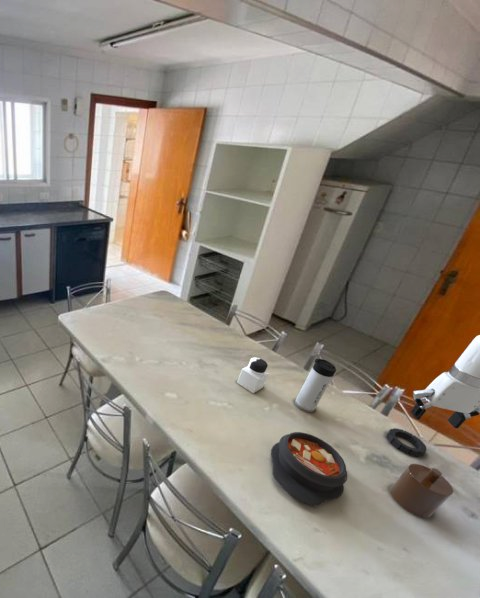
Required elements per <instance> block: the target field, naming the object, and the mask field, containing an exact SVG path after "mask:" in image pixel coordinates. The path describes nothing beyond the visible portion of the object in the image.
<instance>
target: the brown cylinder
mask: <svg viewBox="0 0 480 598" xmlns="http://www.w3.org/2000/svg"><path fill="white" fill-rule="evenodd" d="M442 473H443V472H441V471H440V470H439V469H437V468H434V467H432V468H430V467H428V466H425V465H424V464H418V463H411V464H409V465H408V466H407V468H405V469H404V471H403V472H402V473H401V475H400V476H399V477H398V478H397V480H396V481H395V482H394V483H393V484H392V485H391V487H390V488H389V493H390V495H391V497H392V498H393V499H394V501H395V502H396V503H397V504H398V505H399V506H400V507H401V508H402V509H403V510H405V511H407V512H409V513H411V514H412V515H415V516H417V517H420V518H425V519H427V518H431V516H432V515H433V514H435V512H437V510H438V509H439V508H440V507H441V506H442V505H443V504H444V503H445V502H446V501H447V500H448V499H449V498H450V497H451V496H453V494H454V488H453V487H452V485H451V484H450V482H449V481H448V480H447V479H446V478H445V477H443V476H442V475H443V474H442Z"/></svg>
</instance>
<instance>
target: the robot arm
mask: <svg viewBox="0 0 480 598" xmlns="http://www.w3.org/2000/svg"><path fill="white" fill-rule="evenodd" d="M412 399H413V400H414V403H415V404H414V405H413V407H412V409H410V414H411V415H412V416H413V418H414V419H415V420H420V419H422V418H423V416H424V414H425V413H426V412H427V409H429V408H432V407H435V408H439V409H442V410H443V409H444V410H448V411H453V413H452V414H451V415H450V417H449V418H448V419H447V421H448V423H449V424H450V425H451V426H452V427H453V428H454V429H459V428H460V427H461V426H462V425H463V423H465V421H466V420H471V418H472V417H476V416H479V415H480V334H479V335H476V336H475V337H474V338H473V339H472V341H471V342H470V343H469V344H468V346H467V347H466V348H465V350H464V351H463V352H462V353H461V355H460V356H459V357H458V359H457V360H456V361H455V363H454V364H453V365H452V366H451V368H450V369H449V370H448V371H444V372H442V373H441V374H439V375H438V376H437V377H436V378H435V379H433V380H432V382H430V383H429V385H428V386H427V387H426V388H425V389H420V390H419V389H418V390H413V392H412Z"/></svg>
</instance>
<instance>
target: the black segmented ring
mask: <svg viewBox="0 0 480 598" xmlns="http://www.w3.org/2000/svg"><path fill="white" fill-rule="evenodd" d="M385 436H386V440H387V441H388V442H389V444H390V445H392V447H394V448H395V449H397V450H398V451H400V452H402V453H404V454H405V455H408V456H411V457H417V458H420V457H422V456H424V454H425V453H426V452H427V445H426V444H425V443H424V442H423V441H422V440H421V439H420V438H419V437H417V436H416V435H415V434H413V433H411V432H409V431H406V430H404V429H401V428H397V427H396V428H390V429H389V431H388V432H387V433H386V435H385ZM398 438H401V439H404V440H406V441H408V443H410V444H412V445H413V446H414V447H411V446H410V445H407V444H405V443H404V442H402V441H401V440H400V439H398Z"/></svg>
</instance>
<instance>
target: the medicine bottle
mask: <svg viewBox="0 0 480 598" xmlns="http://www.w3.org/2000/svg"><path fill="white" fill-rule="evenodd" d="M268 367H269V365H268V363H267V361H266V360H264V359H262V358H260V357H251V358H250V359H249V363H248V365H247V366H245V367H243V368H242V369H241V371H240V374H239V376H238V379H237V381H236V383H237V384H238V385H240V386H241V387H242V388H244V389H246V390H247V391H249V392H250V393H252V394H255V393H257V392H258V391H259V390H261V389H263V388H264V386H265V383H266V381H267V379H268V377H269V375H270V373H269V372H267V368H268Z"/></svg>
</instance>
